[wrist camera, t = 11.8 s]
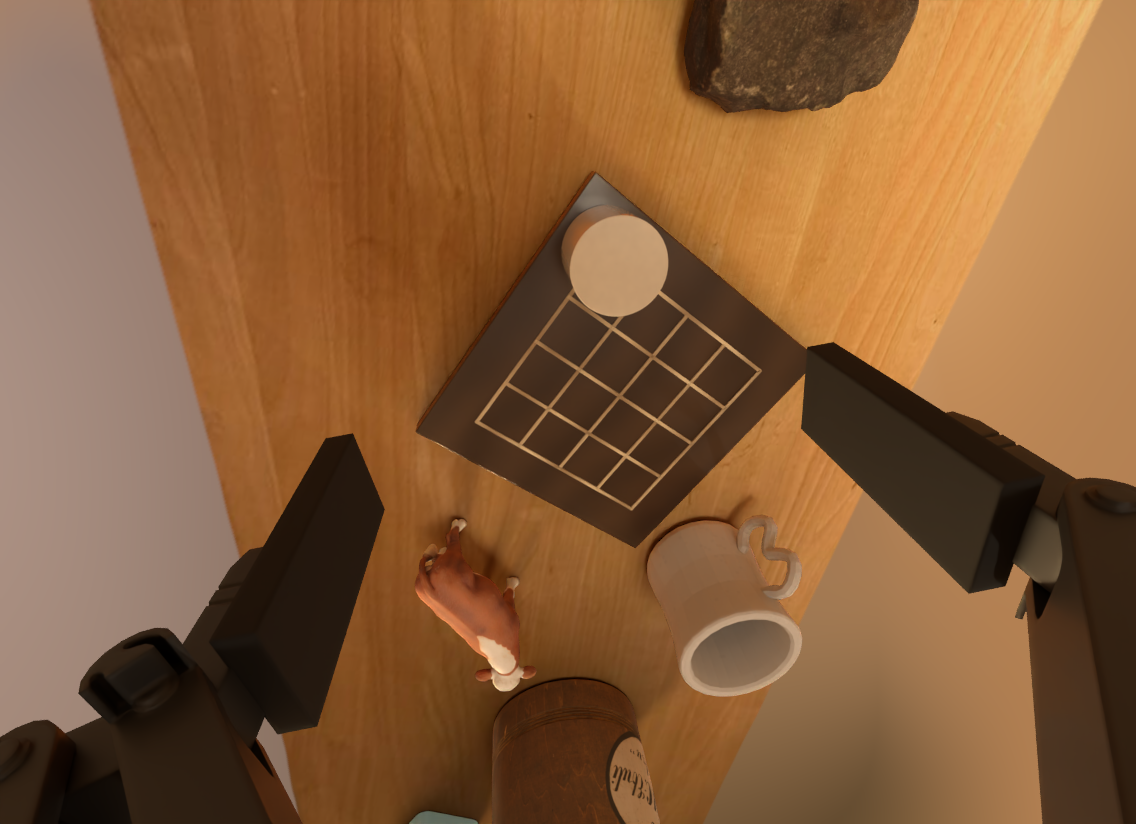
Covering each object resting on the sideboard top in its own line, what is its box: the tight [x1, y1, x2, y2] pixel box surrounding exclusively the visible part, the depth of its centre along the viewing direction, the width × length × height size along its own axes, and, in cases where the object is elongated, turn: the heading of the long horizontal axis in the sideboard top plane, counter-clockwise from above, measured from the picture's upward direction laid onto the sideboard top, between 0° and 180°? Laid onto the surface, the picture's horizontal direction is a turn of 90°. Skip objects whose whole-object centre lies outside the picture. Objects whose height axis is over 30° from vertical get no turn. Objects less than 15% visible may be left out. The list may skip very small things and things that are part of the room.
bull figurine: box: [415, 519, 537, 691], centre depth 39 cm, size 4×13×8 cm, turn 25°
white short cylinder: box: [561, 205, 668, 317], centre depth 29 cm, size 5×5×4 cm
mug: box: [647, 515, 802, 696], centre depth 40 cm, size 12×9×10 cm
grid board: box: [416, 171, 807, 548], centre depth 36 cm, size 20×20×1 cm
